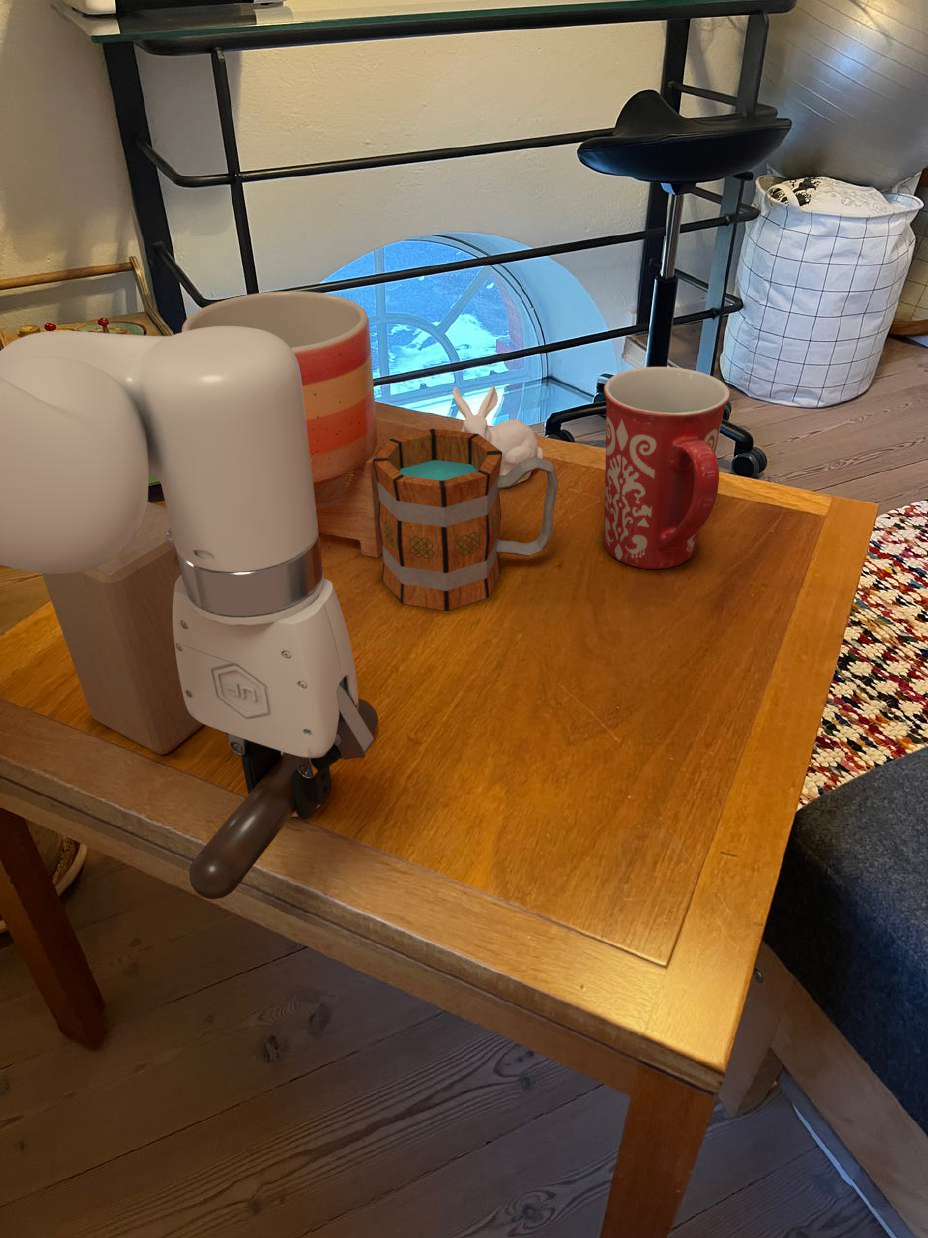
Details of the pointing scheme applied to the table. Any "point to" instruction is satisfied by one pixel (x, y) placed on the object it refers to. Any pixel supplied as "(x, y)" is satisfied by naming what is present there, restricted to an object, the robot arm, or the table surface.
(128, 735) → the wooden block
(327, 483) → the planter
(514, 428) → the rabbit
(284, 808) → the spoon
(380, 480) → the mug
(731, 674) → the table surface
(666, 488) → the mug
